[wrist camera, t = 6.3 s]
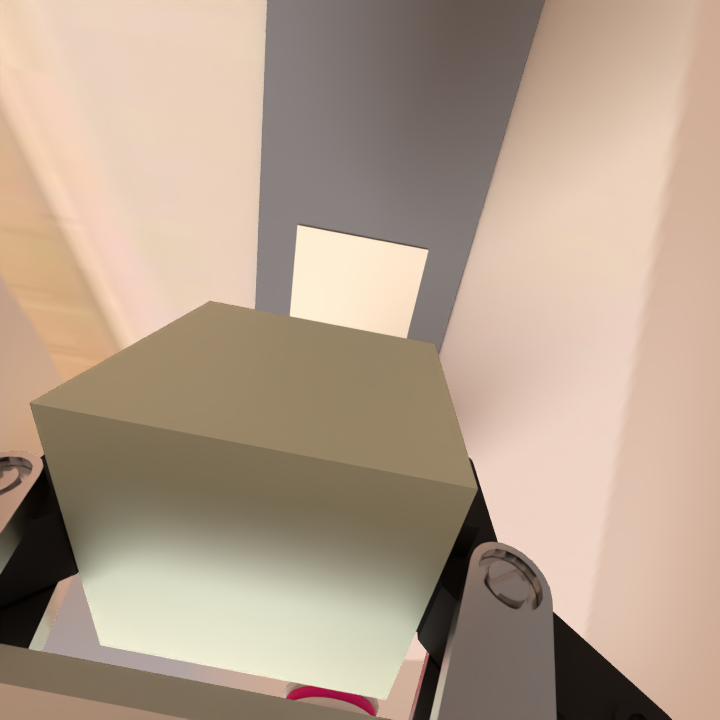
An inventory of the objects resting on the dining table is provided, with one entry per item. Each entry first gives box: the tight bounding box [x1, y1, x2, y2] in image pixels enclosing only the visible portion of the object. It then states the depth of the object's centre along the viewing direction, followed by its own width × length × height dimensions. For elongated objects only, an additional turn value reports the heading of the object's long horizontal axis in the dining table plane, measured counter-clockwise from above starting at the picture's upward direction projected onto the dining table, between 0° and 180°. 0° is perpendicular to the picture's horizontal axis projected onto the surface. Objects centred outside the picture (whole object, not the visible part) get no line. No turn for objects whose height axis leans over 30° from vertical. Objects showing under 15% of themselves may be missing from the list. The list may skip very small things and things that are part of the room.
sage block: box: [30, 301, 478, 700], centre depth 8 cm, size 6×6×5 cm
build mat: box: [255, 0, 545, 354], centre depth 17 cm, size 28×12×1 cm, turn 170°
